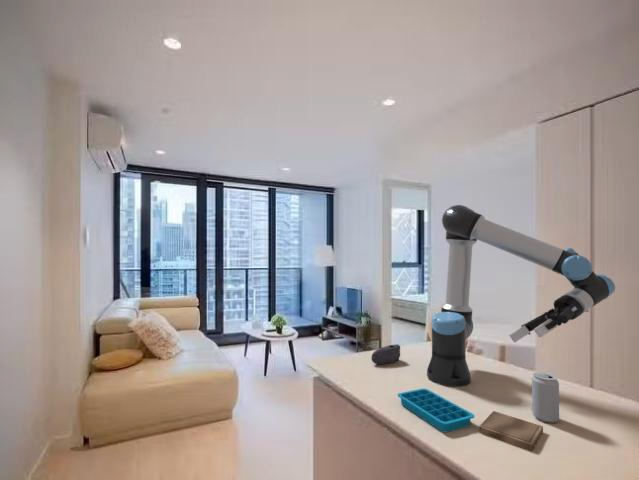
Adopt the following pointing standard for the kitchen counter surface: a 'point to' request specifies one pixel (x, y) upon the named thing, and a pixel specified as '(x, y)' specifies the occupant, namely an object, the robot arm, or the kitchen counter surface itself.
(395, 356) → the perforated stone tool
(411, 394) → the ice cube tray
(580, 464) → the kitchen counter surface
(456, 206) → the robot arm
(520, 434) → the walnut block
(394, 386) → the kitchen counter surface
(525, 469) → the kitchen counter surface
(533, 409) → the beverage can
